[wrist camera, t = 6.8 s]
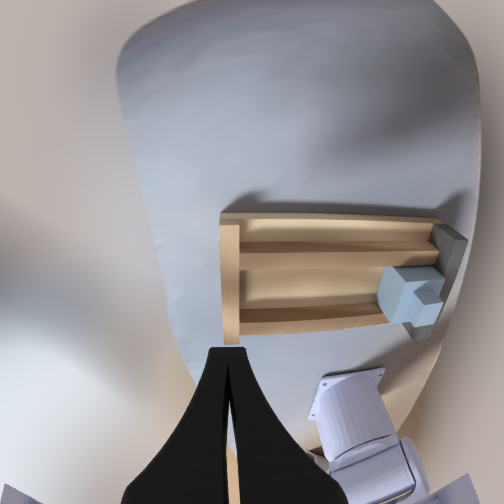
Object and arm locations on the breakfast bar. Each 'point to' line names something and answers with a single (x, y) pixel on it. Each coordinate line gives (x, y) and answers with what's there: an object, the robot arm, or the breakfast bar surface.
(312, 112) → the breakfast bar surface
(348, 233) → the track
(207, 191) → the breakfast bar surface
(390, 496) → the robot arm
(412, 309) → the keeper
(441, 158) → the breakfast bar surface
